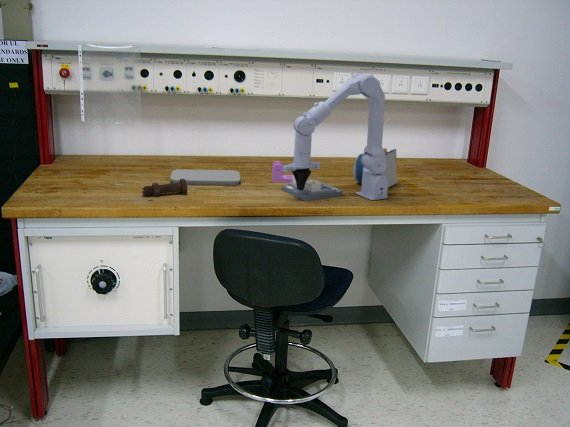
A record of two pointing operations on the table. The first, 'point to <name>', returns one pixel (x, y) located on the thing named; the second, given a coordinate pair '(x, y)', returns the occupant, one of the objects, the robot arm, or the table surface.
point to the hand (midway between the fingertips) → (300, 189)
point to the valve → (389, 172)
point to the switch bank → (306, 195)
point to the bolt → (165, 188)
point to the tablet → (206, 177)
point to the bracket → (280, 173)
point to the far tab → (295, 181)
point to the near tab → (312, 186)
